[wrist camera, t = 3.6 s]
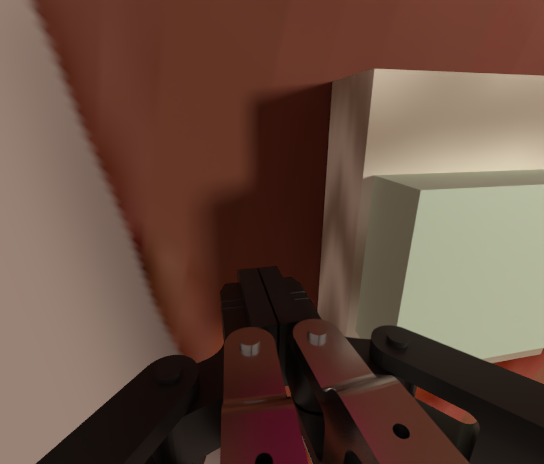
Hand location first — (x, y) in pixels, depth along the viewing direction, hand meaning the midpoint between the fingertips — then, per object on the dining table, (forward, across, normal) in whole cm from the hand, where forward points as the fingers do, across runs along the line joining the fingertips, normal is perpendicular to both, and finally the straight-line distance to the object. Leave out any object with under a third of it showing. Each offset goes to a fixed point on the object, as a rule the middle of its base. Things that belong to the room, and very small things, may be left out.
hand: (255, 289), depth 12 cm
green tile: (+2, -10, 0) cm, 10 cm away
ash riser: (+6, -12, 0) cm, 13 cm away
